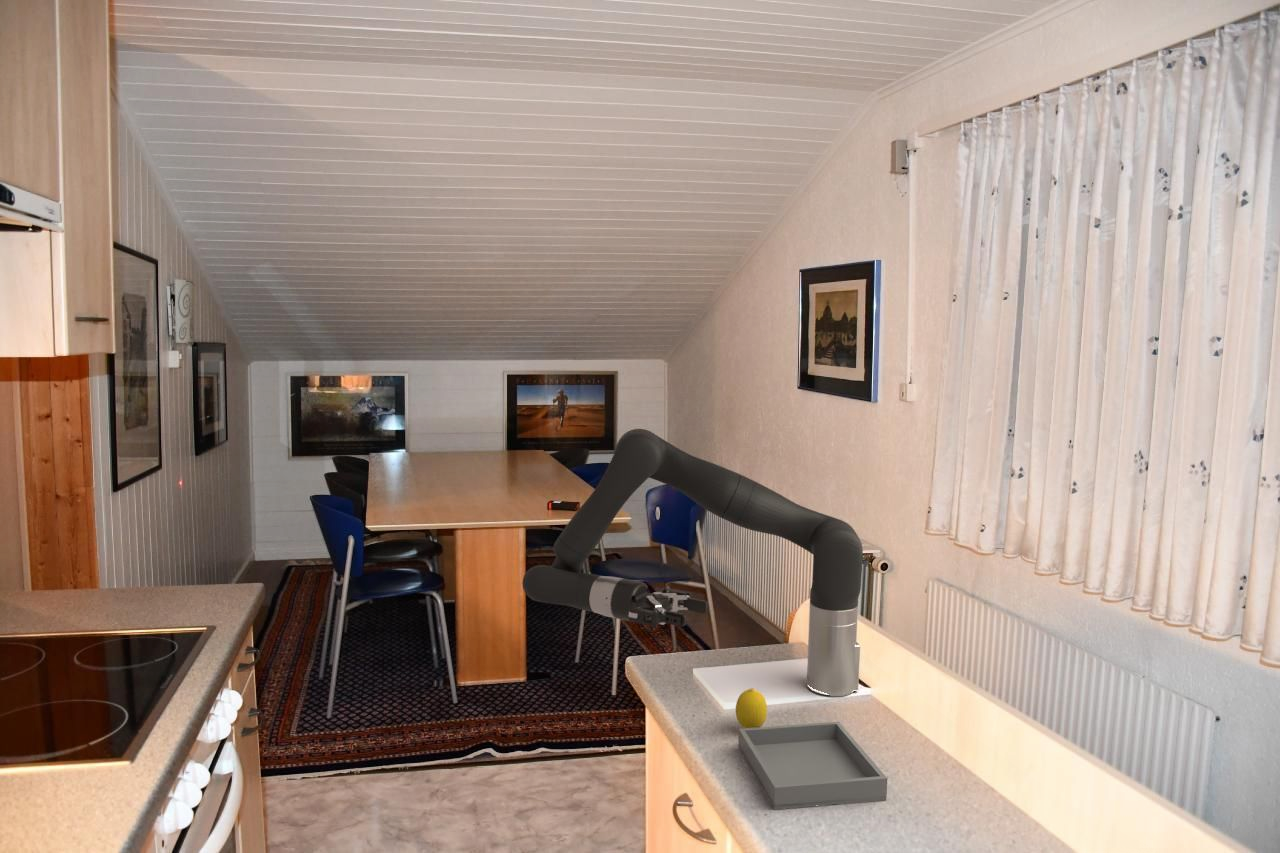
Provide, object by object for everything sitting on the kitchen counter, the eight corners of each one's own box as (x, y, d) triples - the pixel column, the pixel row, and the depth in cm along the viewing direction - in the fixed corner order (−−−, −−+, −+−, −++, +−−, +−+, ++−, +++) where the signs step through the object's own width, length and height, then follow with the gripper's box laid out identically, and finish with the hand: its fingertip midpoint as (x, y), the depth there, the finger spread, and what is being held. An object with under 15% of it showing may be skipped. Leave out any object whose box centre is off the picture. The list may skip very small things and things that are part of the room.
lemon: (746, 741, 171) (747, 697, 170) (729, 728, 176) (730, 685, 175) (772, 734, 174) (774, 691, 173) (754, 722, 179) (756, 680, 178)
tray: (838, 741, 172) (838, 721, 171) (886, 800, 152) (887, 778, 152) (738, 748, 169) (738, 728, 168) (774, 809, 149) (775, 787, 149)
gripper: (599, 588, 179) (678, 604, 171) (638, 569, 191) (714, 583, 183) (598, 628, 180) (677, 646, 172) (637, 607, 192) (713, 622, 184)
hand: (696, 613), depth 178 cm, fingers open, 8 cm apart
